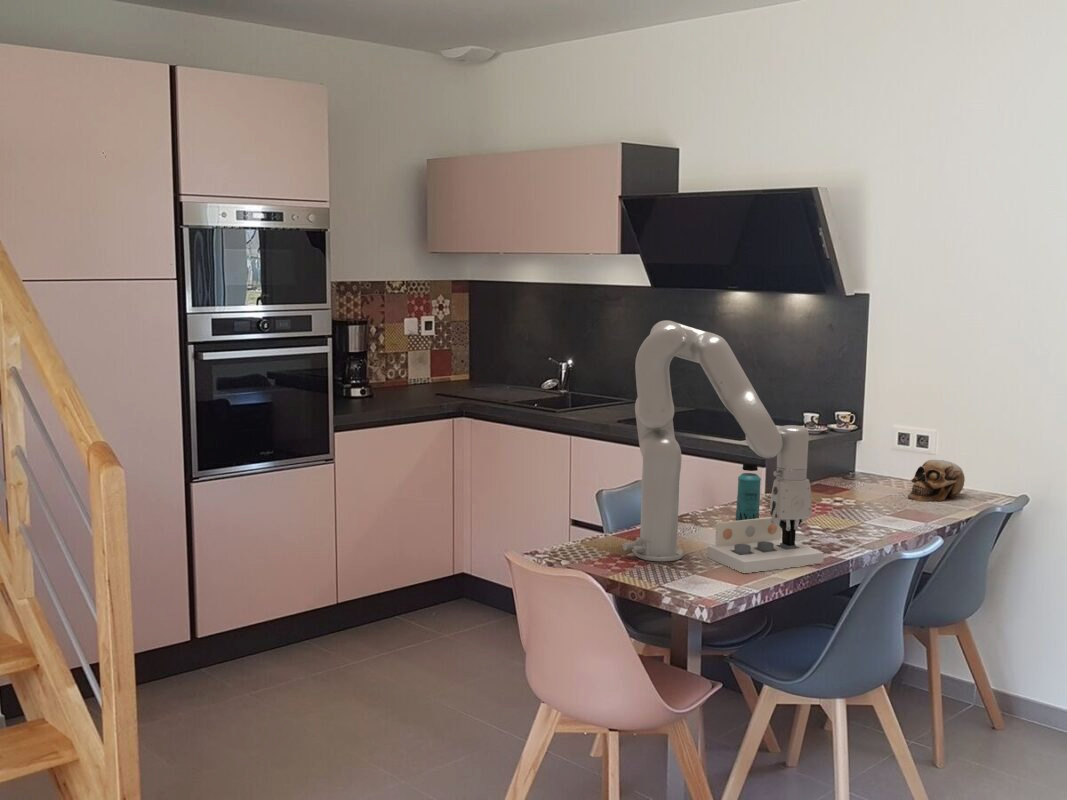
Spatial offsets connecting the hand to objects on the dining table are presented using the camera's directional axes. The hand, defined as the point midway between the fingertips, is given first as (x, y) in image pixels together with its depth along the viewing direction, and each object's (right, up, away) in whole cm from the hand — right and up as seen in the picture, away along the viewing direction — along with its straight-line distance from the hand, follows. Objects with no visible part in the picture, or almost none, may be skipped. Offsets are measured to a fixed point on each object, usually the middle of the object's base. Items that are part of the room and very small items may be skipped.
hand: (788, 544), depth 275 cm
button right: (0, -3, 0) cm, 3 cm away
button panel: (-7, -4, -2) cm, 8 cm away
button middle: (-7, -2, -3) cm, 7 cm away
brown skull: (+66, +5, +76) cm, 100 cm away
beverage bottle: (-5, 0, +26) cm, 27 cm away
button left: (-13, -3, -5) cm, 14 cm away
